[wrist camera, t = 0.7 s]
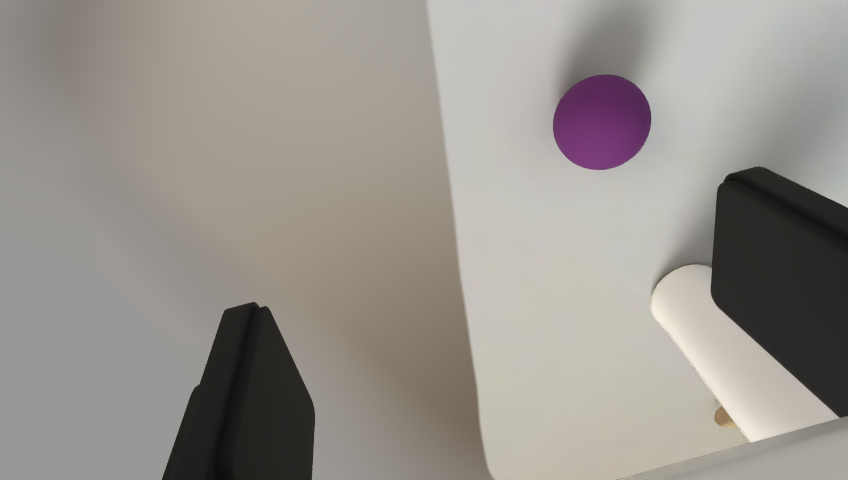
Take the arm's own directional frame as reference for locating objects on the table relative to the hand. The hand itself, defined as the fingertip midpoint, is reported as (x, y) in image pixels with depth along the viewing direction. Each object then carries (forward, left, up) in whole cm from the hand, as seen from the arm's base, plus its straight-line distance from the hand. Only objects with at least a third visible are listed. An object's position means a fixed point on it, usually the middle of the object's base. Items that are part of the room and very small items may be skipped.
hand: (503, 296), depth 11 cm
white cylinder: (-5, +25, -20) cm, 32 cm away
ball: (-7, +8, -17) cm, 20 cm away
